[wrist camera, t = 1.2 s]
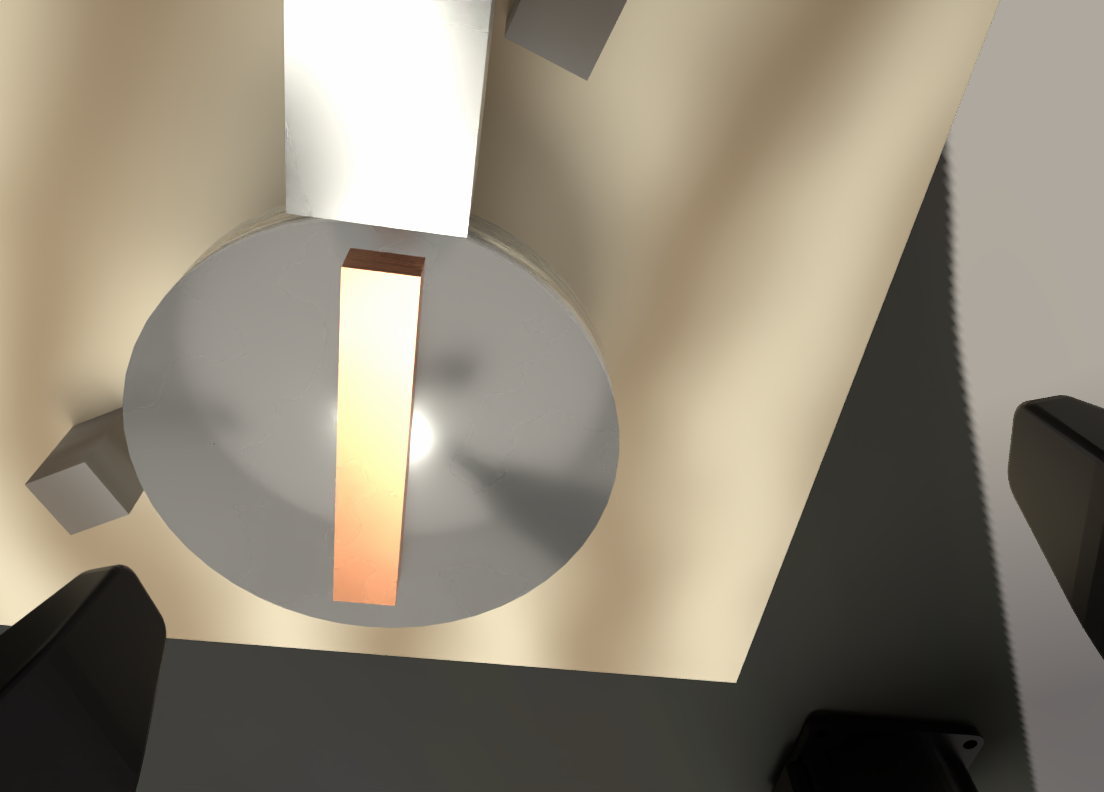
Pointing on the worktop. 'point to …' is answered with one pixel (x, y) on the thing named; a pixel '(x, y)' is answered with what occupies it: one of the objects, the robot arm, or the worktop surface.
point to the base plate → (533, 217)
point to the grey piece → (376, 352)
